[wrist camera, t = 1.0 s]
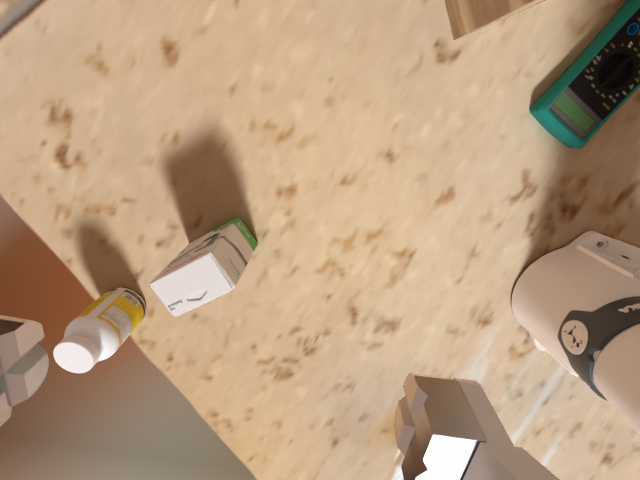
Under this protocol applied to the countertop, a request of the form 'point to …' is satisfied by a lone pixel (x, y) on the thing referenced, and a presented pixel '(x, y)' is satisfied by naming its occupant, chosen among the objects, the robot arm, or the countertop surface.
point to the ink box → (205, 268)
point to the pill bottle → (100, 330)
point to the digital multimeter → (594, 81)
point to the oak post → (481, 13)
